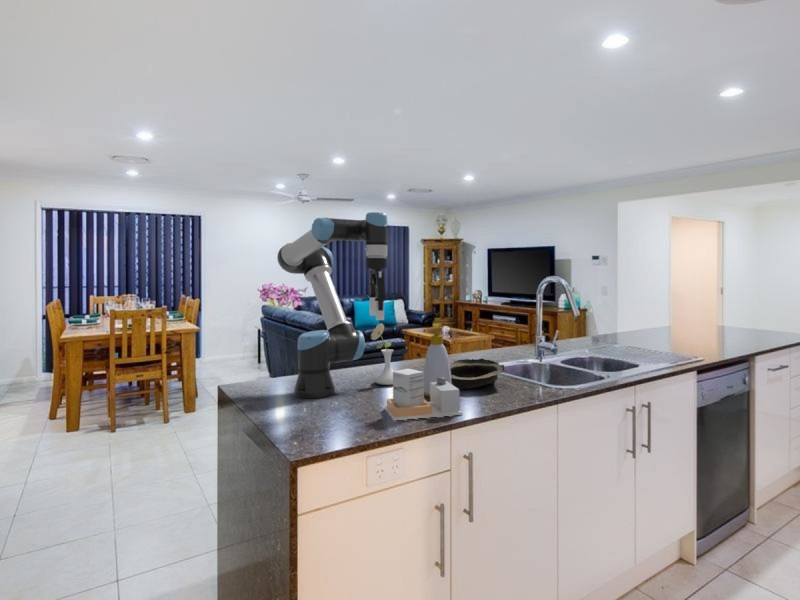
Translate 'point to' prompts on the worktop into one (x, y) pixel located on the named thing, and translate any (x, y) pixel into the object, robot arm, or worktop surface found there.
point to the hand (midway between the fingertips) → (376, 317)
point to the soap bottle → (436, 361)
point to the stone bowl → (474, 373)
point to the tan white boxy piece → (430, 403)
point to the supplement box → (408, 388)
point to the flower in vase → (387, 373)
